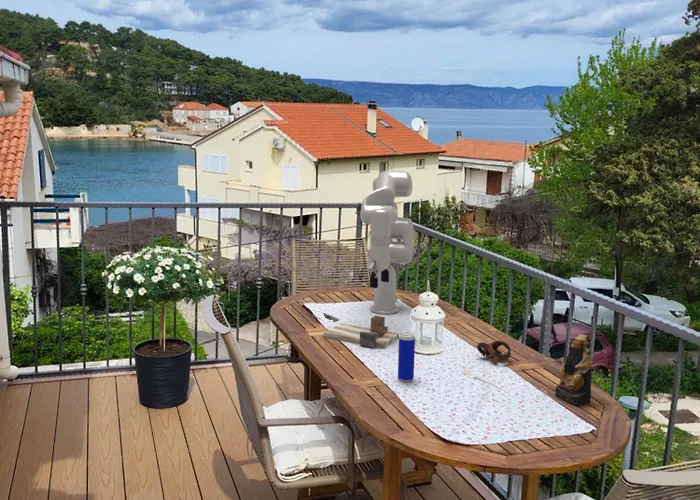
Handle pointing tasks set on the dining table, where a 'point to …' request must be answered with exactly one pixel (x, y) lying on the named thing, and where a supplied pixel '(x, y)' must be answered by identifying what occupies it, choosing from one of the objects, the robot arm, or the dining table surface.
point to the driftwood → (324, 315)
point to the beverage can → (406, 357)
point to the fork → (480, 378)
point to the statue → (576, 374)
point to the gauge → (373, 332)
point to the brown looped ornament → (494, 351)
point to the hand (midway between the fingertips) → (379, 284)
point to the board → (358, 335)
